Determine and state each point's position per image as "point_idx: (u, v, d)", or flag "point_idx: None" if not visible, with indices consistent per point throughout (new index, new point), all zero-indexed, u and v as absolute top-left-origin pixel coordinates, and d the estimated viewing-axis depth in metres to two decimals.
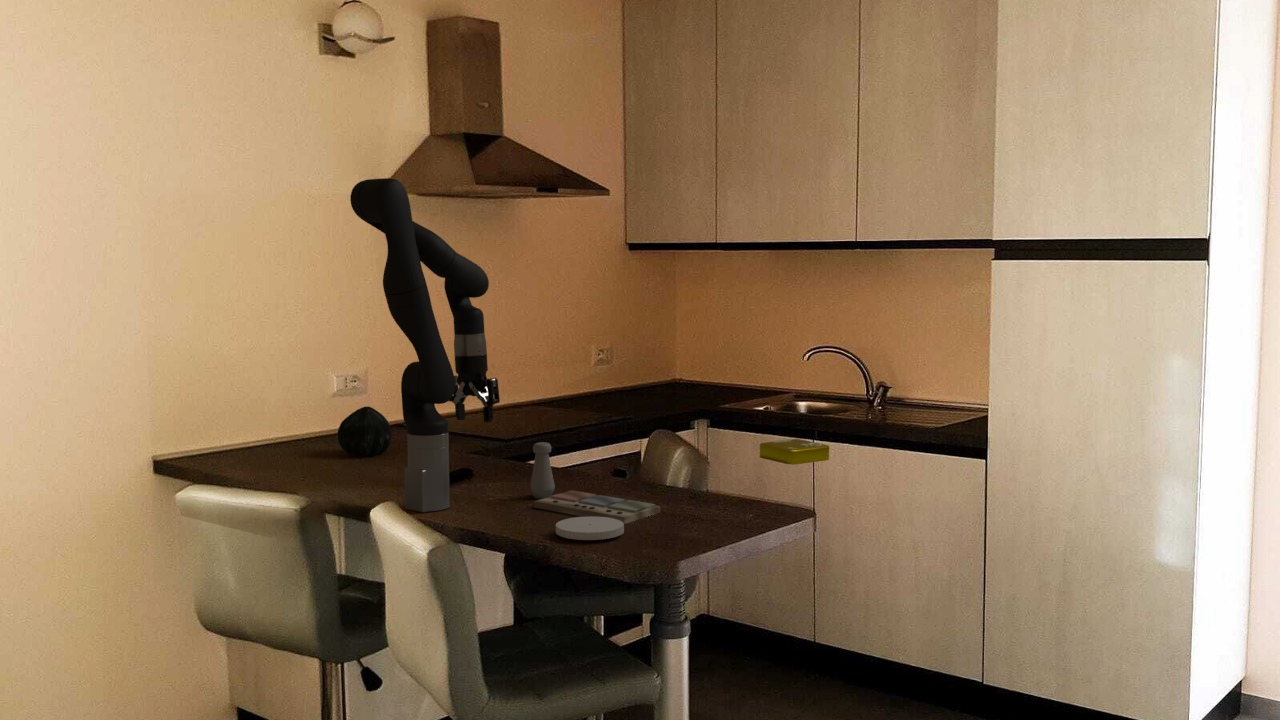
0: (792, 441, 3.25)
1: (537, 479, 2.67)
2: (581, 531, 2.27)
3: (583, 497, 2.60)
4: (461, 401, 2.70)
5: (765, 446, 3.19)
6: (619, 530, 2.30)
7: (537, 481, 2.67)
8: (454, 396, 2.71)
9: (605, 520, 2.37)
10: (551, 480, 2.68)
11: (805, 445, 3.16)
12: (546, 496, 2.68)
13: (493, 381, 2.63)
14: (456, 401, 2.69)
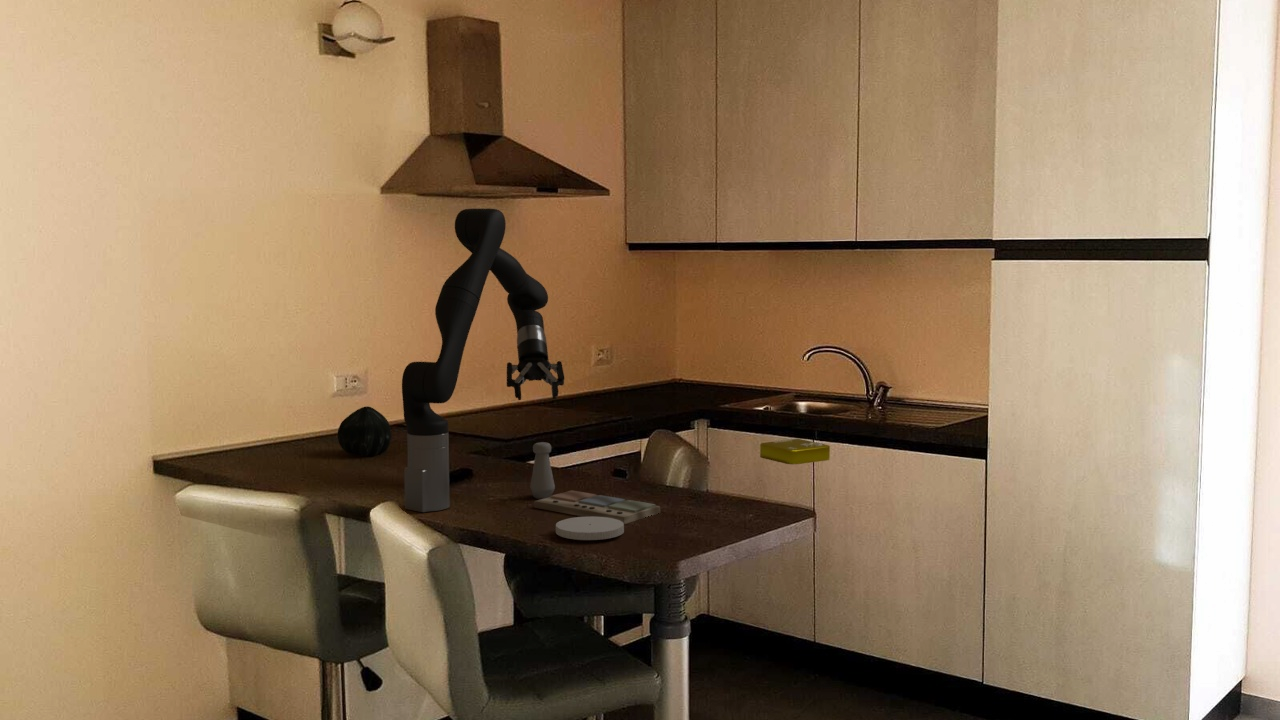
0: (793, 441, 3.25)
1: (537, 479, 2.67)
2: (581, 531, 2.27)
3: (583, 497, 2.60)
4: None
5: (765, 446, 3.19)
6: (619, 530, 2.30)
7: (537, 481, 2.67)
8: None
9: (605, 520, 2.37)
10: (551, 480, 2.68)
11: (805, 445, 3.16)
12: (546, 496, 2.68)
13: None
14: (518, 380, 2.80)
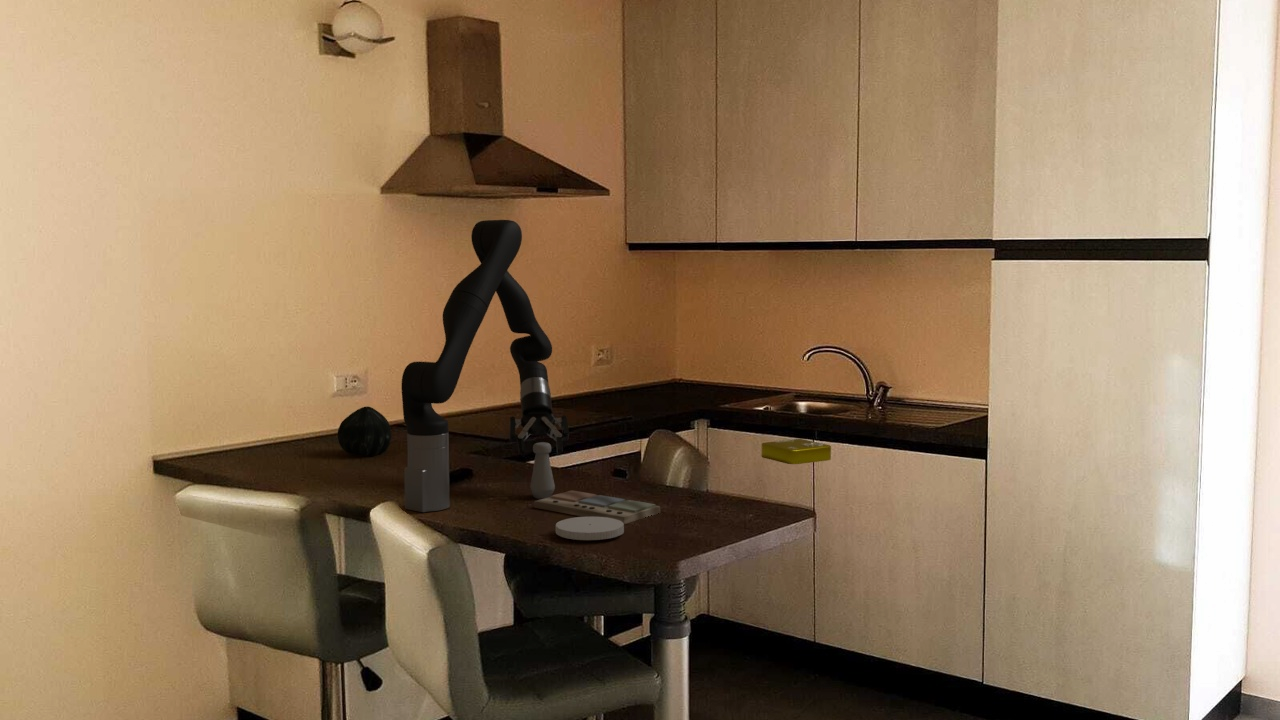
0: (794, 441, 3.25)
1: (537, 479, 2.67)
2: (581, 531, 2.27)
3: (583, 497, 2.60)
4: None
5: (767, 446, 3.20)
6: (619, 530, 2.30)
7: (537, 481, 2.67)
8: None
9: (605, 520, 2.37)
10: (551, 480, 2.68)
11: (806, 445, 3.16)
12: (546, 496, 2.68)
13: None
14: (522, 435, 2.72)
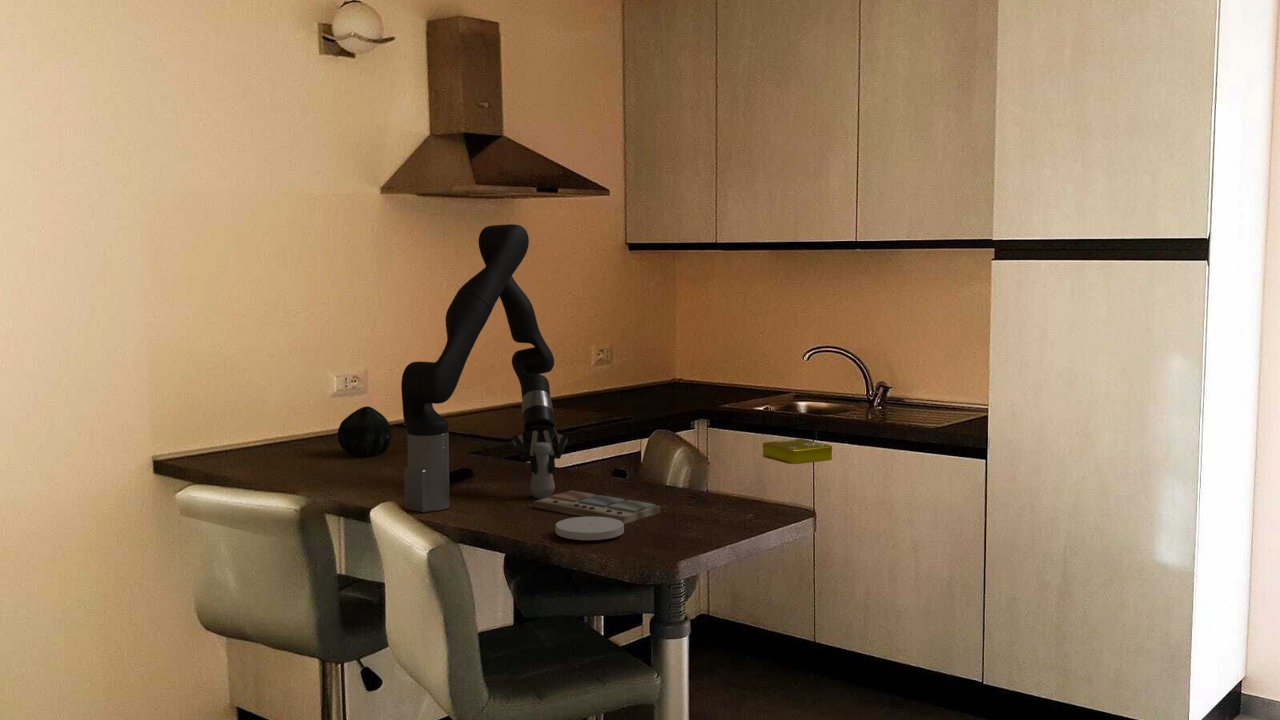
0: (796, 441, 3.26)
1: (537, 479, 2.67)
2: (581, 531, 2.27)
3: (583, 497, 2.60)
4: None
5: (768, 445, 3.20)
6: (619, 530, 2.30)
7: (537, 481, 2.67)
8: None
9: (605, 520, 2.37)
10: (551, 480, 2.68)
11: (807, 445, 3.16)
12: (546, 496, 2.68)
13: None
14: (534, 453, 2.69)
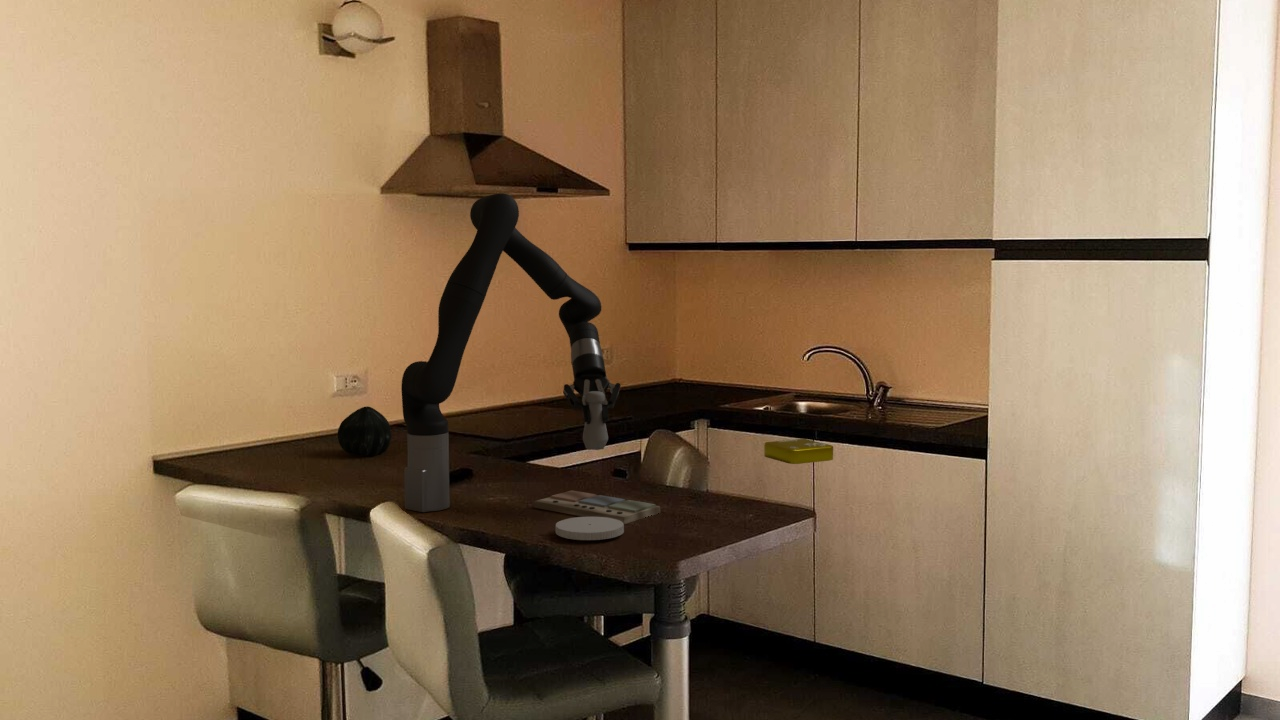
0: (798, 441, 3.26)
1: (590, 429, 2.56)
2: (581, 531, 2.27)
3: (583, 497, 2.60)
4: None
5: (769, 445, 3.21)
6: (619, 530, 2.30)
7: (591, 431, 2.56)
8: None
9: (605, 520, 2.37)
10: (605, 430, 2.57)
11: (808, 445, 3.17)
12: (599, 447, 2.56)
13: (619, 388, 2.62)
14: (587, 402, 2.57)
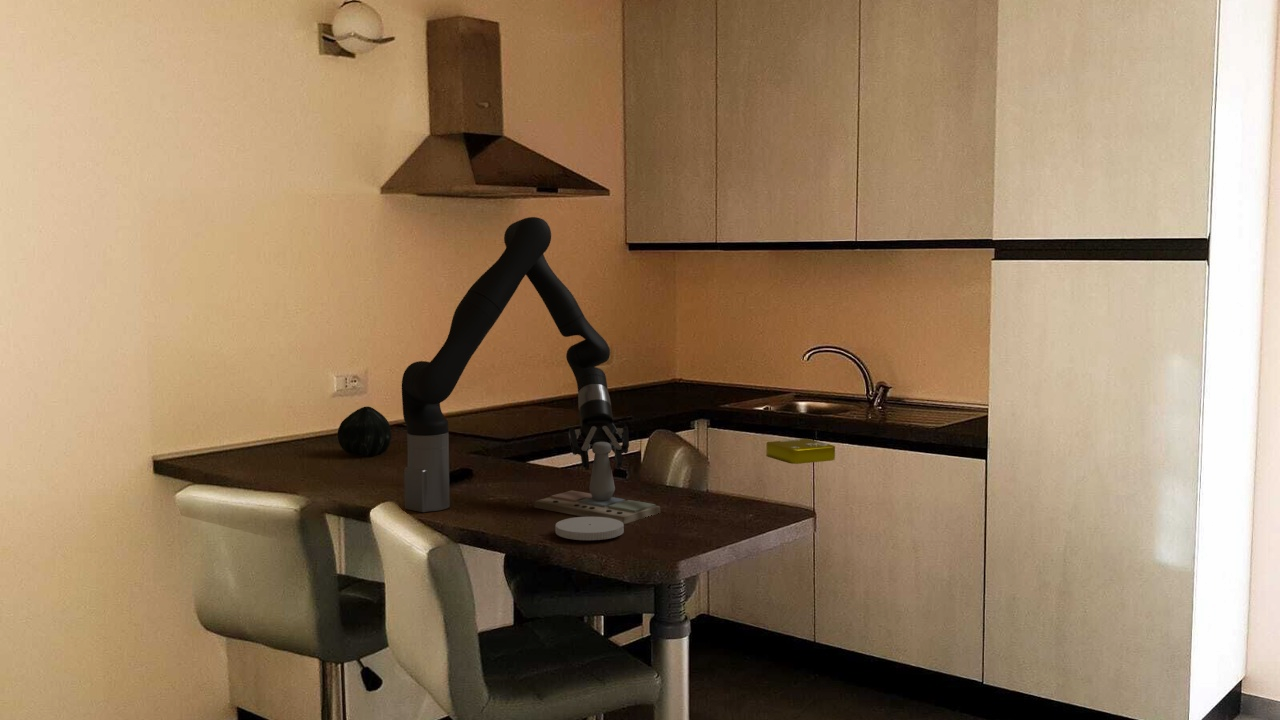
0: (800, 441, 3.26)
1: (597, 480, 2.55)
2: (581, 531, 2.27)
3: (583, 497, 2.60)
4: None
5: (771, 445, 3.21)
6: (619, 530, 2.30)
7: (598, 482, 2.55)
8: None
9: (605, 520, 2.37)
10: (611, 481, 2.56)
11: (809, 445, 3.17)
12: (606, 498, 2.56)
13: None
14: (585, 447, 2.56)
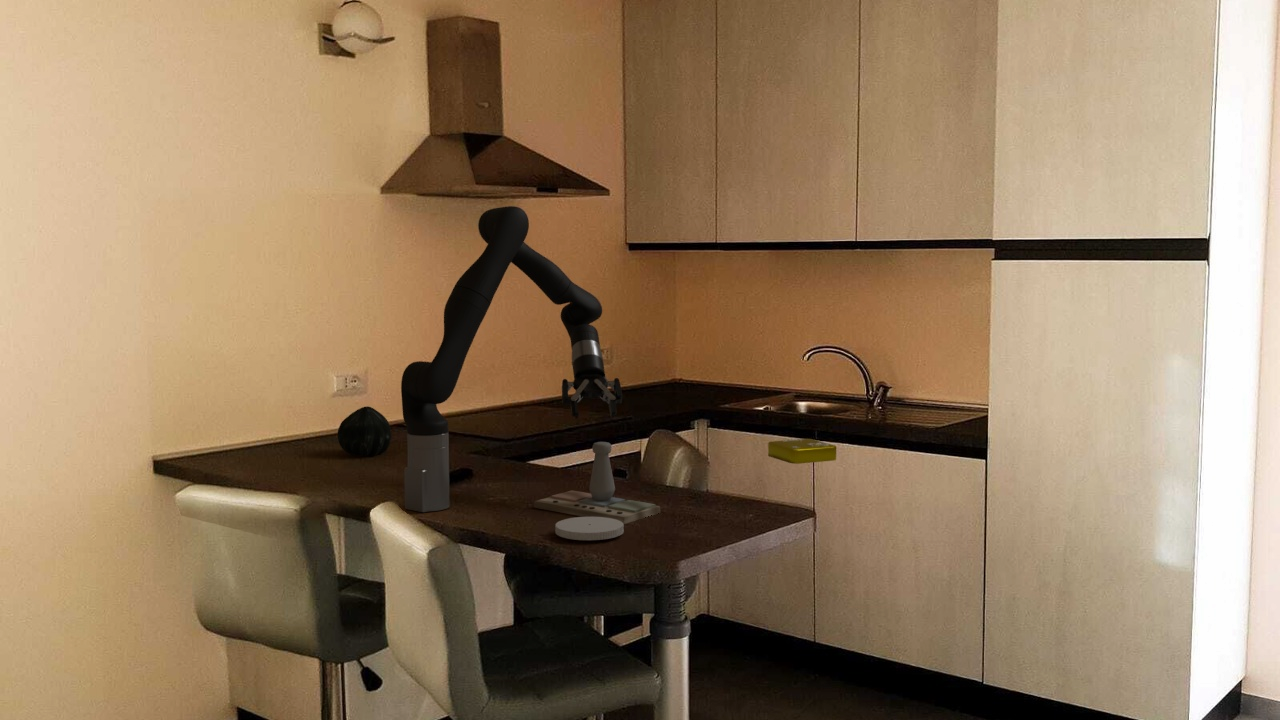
0: (802, 440, 3.26)
1: (597, 480, 2.55)
2: (581, 531, 2.27)
3: (583, 497, 2.60)
4: None
5: (772, 445, 3.21)
6: (619, 530, 2.30)
7: (598, 482, 2.55)
8: None
9: (605, 520, 2.37)
10: (612, 481, 2.57)
11: (811, 445, 3.17)
12: (606, 498, 2.56)
13: None
14: (575, 397, 2.67)
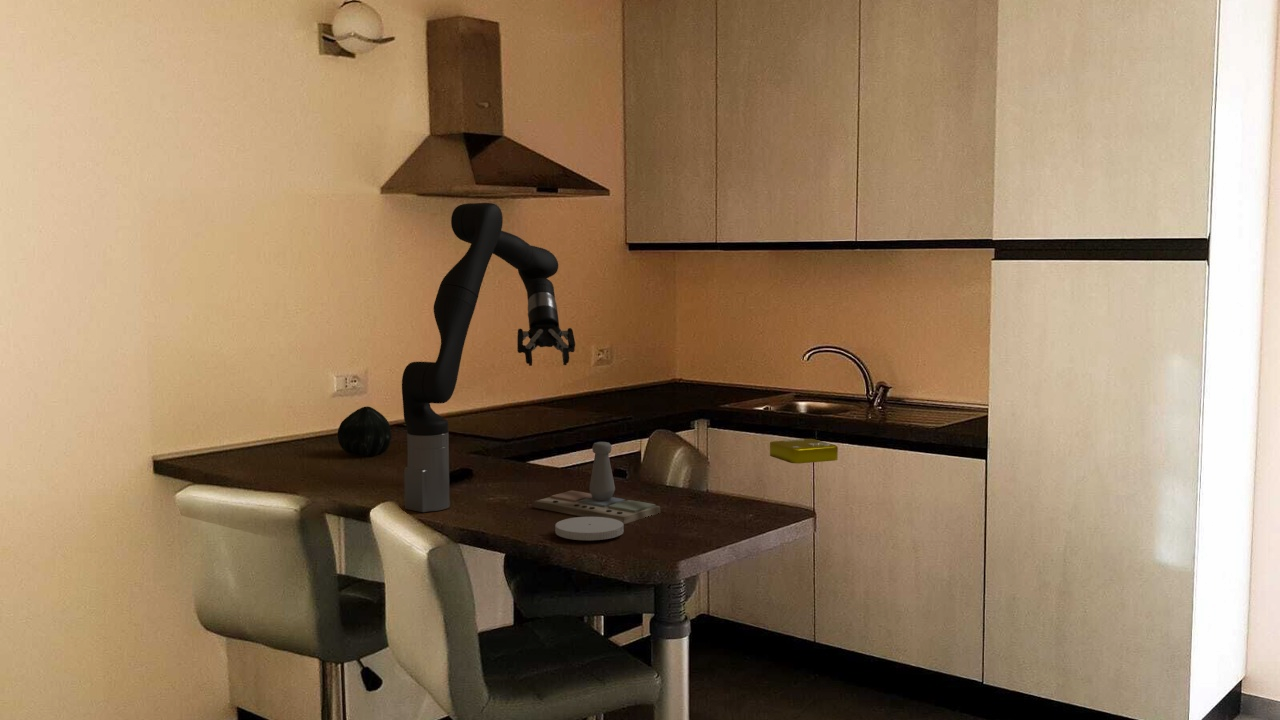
0: (804, 440, 3.26)
1: (597, 480, 2.55)
2: (581, 531, 2.27)
3: (583, 497, 2.60)
4: None
5: (773, 445, 3.22)
6: (619, 530, 2.30)
7: (598, 482, 2.55)
8: None
9: (605, 520, 2.37)
10: (612, 481, 2.57)
11: (812, 445, 3.17)
12: (606, 498, 2.56)
13: None
14: (529, 346, 2.80)
